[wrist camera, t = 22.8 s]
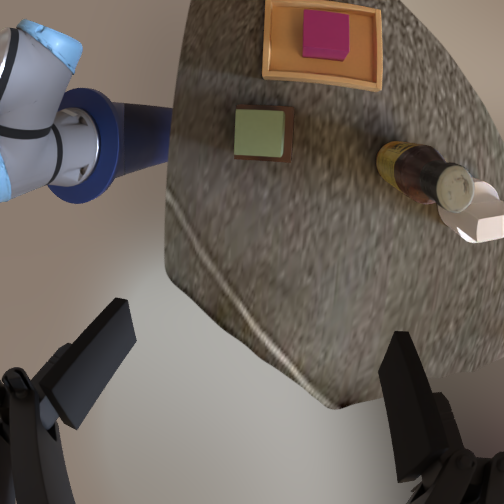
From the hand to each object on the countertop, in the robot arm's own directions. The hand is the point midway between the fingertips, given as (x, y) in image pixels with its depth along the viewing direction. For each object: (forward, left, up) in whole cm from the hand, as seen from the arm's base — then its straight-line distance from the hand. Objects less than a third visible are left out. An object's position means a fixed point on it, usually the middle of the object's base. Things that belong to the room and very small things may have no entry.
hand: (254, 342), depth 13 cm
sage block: (-3, +9, -26) cm, 27 cm away
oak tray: (+4, +23, -31) cm, 39 cm away
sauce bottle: (+15, +7, -31) cm, 35 cm away
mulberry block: (+4, +23, -30) cm, 38 cm away
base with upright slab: (+28, +3, -31) cm, 42 cm away
